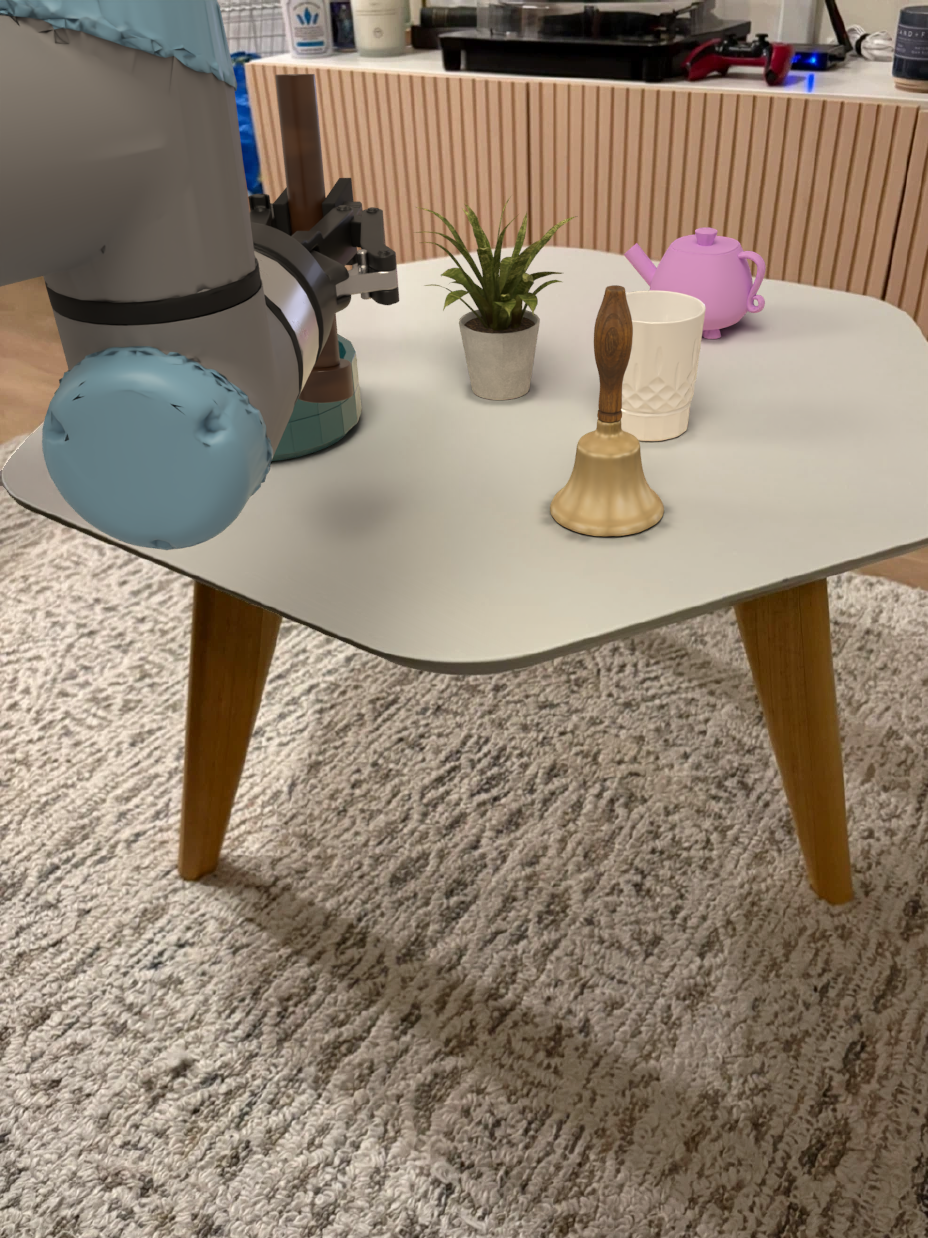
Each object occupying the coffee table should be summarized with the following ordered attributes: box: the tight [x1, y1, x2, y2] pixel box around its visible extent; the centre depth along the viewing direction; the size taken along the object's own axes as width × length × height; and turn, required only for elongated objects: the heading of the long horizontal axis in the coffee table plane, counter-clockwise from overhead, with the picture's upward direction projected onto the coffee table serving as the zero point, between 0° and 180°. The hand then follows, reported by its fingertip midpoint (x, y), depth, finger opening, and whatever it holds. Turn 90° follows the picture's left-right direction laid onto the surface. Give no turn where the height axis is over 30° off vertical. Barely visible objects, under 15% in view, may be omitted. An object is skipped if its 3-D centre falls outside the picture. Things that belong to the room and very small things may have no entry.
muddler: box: [274, 73, 354, 403], centre depth 66 cm, size 4×4×18 cm
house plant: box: [412, 194, 578, 401], centre depth 94 cm, size 14×14×16 cm
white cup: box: [621, 289, 706, 442], centre depth 89 cm, size 8×8×10 cm
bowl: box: [271, 333, 363, 462], centre depth 92 cm, size 16×16×6 cm
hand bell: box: [549, 284, 665, 537], centre depth 76 cm, size 8×8×16 cm
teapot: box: [623, 226, 767, 340], centre depth 109 cm, size 10×15×9 cm
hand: (324, 200), depth 70 cm, fingers closed on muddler, 2 cm apart
